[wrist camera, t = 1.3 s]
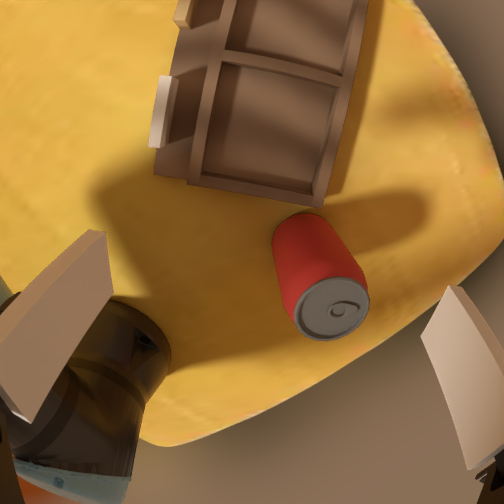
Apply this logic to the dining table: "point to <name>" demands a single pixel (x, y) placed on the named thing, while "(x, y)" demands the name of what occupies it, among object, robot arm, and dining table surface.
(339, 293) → the beer can
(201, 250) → the dining table surface
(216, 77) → the brown desk organizer
